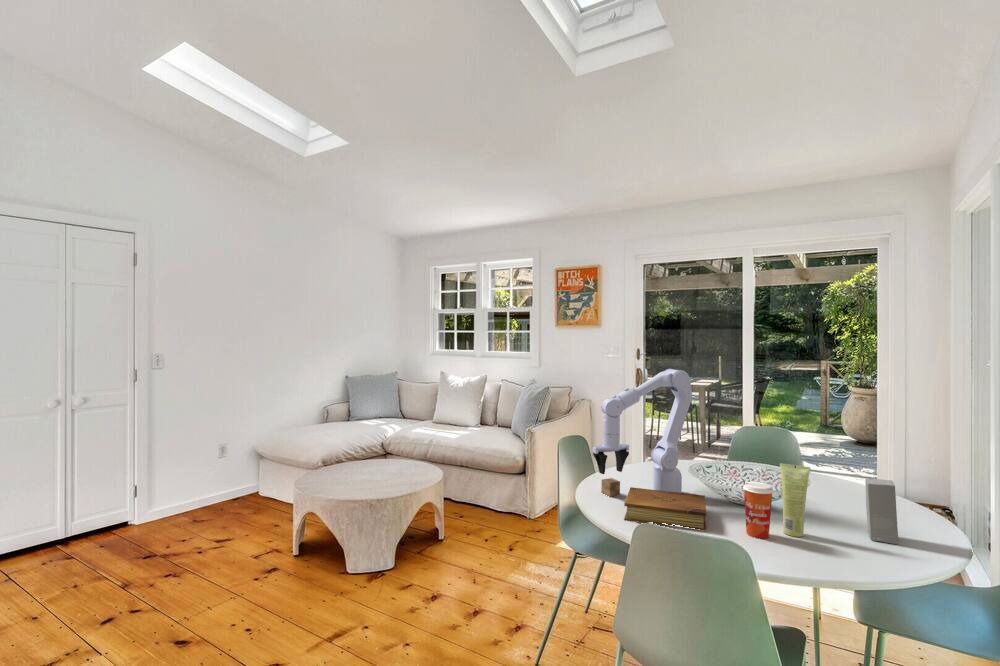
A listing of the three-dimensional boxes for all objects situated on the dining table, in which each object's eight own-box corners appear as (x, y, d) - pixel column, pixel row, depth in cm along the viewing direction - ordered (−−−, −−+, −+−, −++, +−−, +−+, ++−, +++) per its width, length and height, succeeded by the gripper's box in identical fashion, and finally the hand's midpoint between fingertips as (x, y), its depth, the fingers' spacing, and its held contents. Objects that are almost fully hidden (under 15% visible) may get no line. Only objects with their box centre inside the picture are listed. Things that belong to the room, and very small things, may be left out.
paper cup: (741, 536, 143) (742, 486, 143) (743, 527, 150) (743, 479, 150) (773, 542, 139) (774, 490, 140) (773, 533, 146) (774, 483, 146)
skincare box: (898, 545, 138) (899, 486, 139) (866, 540, 142) (866, 482, 142) (895, 535, 146) (895, 479, 146) (864, 530, 149) (864, 475, 149)
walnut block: (611, 492, 183) (611, 478, 183) (619, 495, 179) (620, 481, 179) (601, 493, 181) (601, 479, 181) (609, 497, 177) (609, 482, 177)
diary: (704, 512, 165) (704, 494, 165) (706, 533, 147) (706, 513, 147) (630, 503, 172) (630, 485, 173) (623, 521, 155) (624, 502, 155)
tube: (795, 530, 149) (796, 462, 149) (809, 536, 144) (810, 466, 144) (778, 531, 148) (779, 463, 148) (792, 538, 143) (793, 467, 143)
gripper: (620, 430, 187) (619, 467, 187) (587, 432, 181) (586, 471, 181) (633, 433, 181) (632, 472, 181) (600, 436, 174) (599, 476, 174)
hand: (610, 472), depth 180 cm, fingers open, 7 cm apart
